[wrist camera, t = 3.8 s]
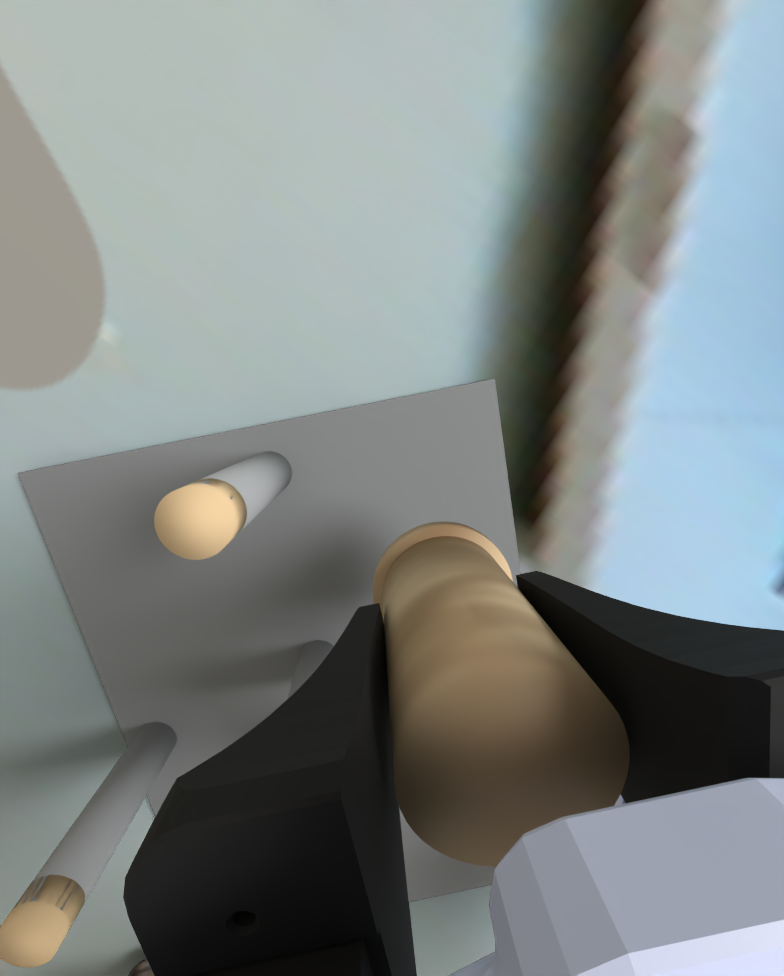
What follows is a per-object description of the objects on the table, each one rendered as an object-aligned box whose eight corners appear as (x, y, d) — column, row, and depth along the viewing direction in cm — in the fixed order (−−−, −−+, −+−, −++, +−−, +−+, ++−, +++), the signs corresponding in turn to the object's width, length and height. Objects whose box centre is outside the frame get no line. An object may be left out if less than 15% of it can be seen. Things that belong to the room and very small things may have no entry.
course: (491, 379, 17) (594, 357, 9) (556, 861, 23) (653, 1099, 15) (26, 471, 17) (-272, 528, 9) (210, 935, 22) (125, 1216, 15)
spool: (497, 509, 13) (639, 623, 6) (514, 632, 14) (654, 849, 7) (360, 536, 13) (349, 683, 6) (387, 659, 14) (404, 903, 7)
